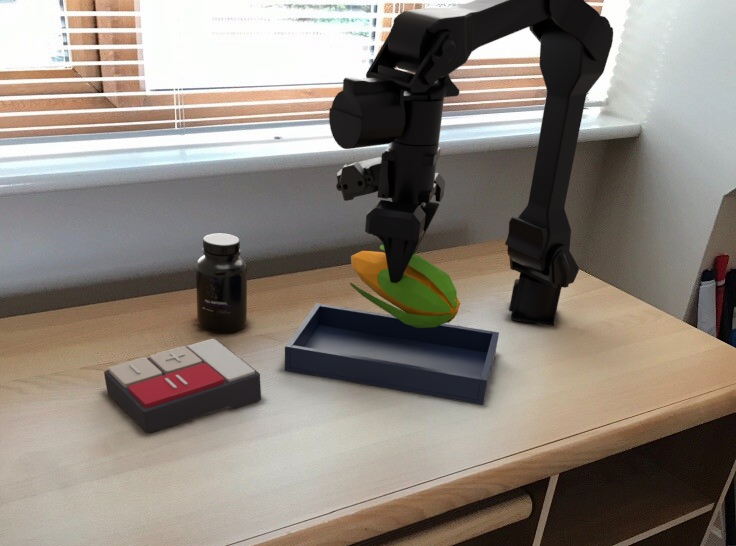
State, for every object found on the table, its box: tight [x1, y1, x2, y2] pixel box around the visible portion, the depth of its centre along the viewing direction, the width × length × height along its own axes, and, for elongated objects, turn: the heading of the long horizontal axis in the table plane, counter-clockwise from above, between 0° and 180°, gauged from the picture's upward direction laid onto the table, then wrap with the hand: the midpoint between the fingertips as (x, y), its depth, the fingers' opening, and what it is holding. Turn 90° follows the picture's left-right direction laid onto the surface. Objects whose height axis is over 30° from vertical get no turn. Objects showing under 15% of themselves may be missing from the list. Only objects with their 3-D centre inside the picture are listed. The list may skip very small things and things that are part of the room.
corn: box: [349, 244, 461, 328], centre depth 108 cm, size 7×8×20 cm
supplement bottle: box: [195, 233, 248, 334], centre depth 115 cm, size 7×7×12 cm
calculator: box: [103, 338, 262, 434], centre depth 100 cm, size 11×4×15 cm
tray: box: [283, 302, 500, 406], centre depth 111 cm, size 26×15×3 cm, turn 76°
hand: (400, 272), depth 106 cm, fingers closed on corn, 7 cm apart
